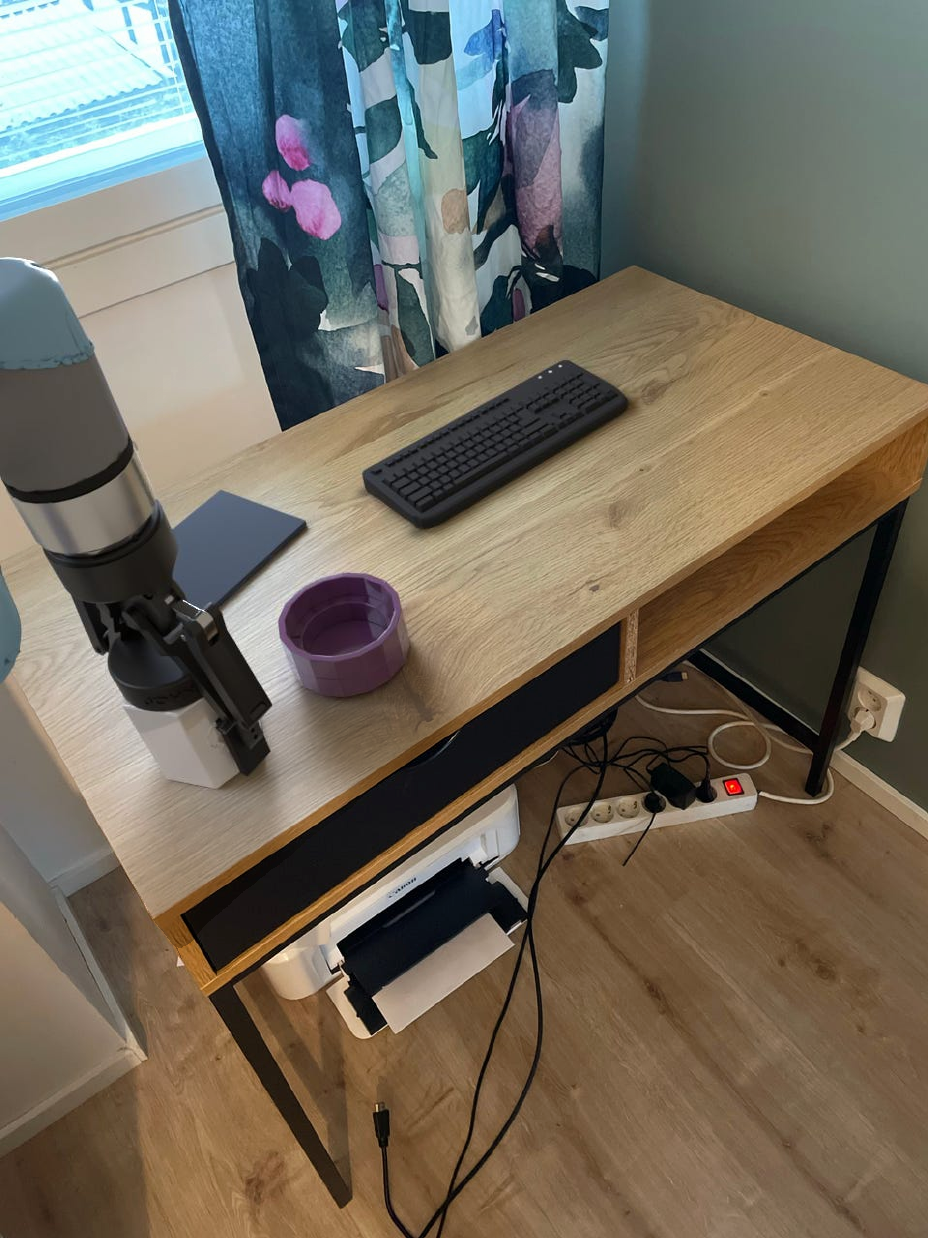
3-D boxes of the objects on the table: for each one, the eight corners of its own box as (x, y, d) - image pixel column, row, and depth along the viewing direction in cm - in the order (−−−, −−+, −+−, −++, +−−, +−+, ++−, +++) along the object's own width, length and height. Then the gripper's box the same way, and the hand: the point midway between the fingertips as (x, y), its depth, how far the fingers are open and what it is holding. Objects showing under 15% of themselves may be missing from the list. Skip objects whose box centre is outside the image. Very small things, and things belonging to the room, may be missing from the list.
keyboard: (425, 533, 88) (422, 517, 86) (362, 486, 94) (358, 471, 93) (634, 405, 99) (635, 389, 98) (565, 371, 106) (565, 356, 104)
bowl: (362, 718, 72) (350, 678, 69) (268, 674, 77) (253, 634, 73) (432, 636, 78) (424, 595, 74) (341, 599, 82) (330, 558, 79)
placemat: (196, 627, 82) (194, 623, 81) (109, 586, 87) (106, 582, 87) (307, 525, 91) (306, 520, 90) (222, 493, 96) (220, 489, 95)
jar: (194, 811, 68) (137, 713, 59) (141, 752, 72) (80, 653, 64) (288, 738, 72) (247, 637, 63) (232, 687, 76) (187, 585, 68)
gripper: (270, 534, 53) (345, 757, 69) (37, 444, 62) (151, 659, 78) (179, 616, 49) (282, 833, 65) (-55, 507, 58) (86, 719, 74)
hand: (210, 738), depth 71 cm, fingers open, 9 cm apart
